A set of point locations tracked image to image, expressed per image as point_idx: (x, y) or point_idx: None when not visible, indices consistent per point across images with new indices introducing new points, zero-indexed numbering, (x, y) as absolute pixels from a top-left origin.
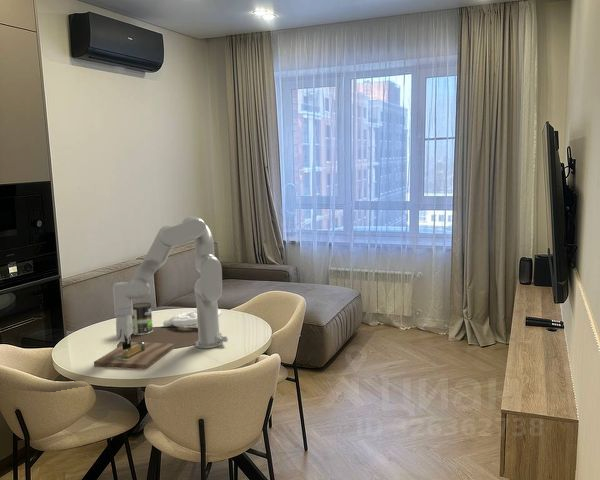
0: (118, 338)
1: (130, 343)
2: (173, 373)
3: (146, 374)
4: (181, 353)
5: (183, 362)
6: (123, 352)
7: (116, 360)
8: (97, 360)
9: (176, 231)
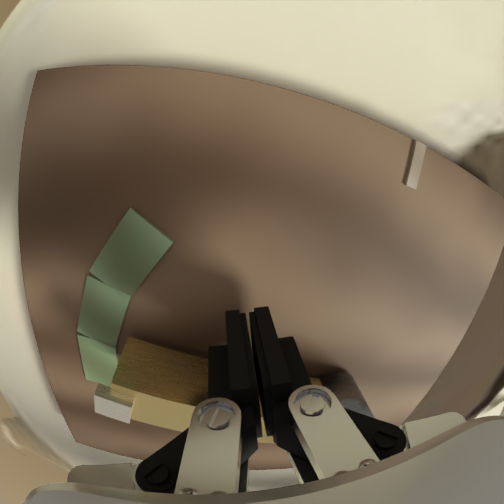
0: (116, 489)
1: (272, 435)
2: None
3: (43, 422)
4: (287, 473)
5: None
6: (117, 369)
7: (68, 284)
8: (64, 80)
9: None
